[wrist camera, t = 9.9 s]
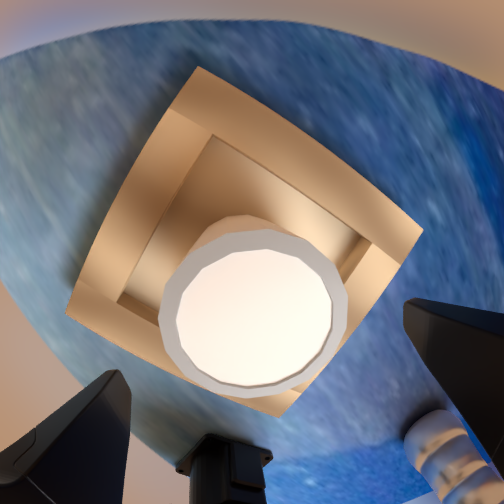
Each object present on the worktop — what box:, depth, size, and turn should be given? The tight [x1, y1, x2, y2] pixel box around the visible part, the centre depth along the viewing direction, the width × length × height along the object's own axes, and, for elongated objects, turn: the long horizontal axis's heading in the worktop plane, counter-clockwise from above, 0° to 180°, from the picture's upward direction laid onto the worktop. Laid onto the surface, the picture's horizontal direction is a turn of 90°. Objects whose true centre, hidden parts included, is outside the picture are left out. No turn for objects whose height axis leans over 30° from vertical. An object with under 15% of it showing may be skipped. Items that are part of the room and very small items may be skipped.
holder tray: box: [65, 66, 423, 418], centre depth 17 cm, size 15×15×2 cm
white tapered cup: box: [158, 214, 348, 398], centre depth 14 cm, size 7×7×7 cm
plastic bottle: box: [404, 410, 504, 504], centre depth 16 cm, size 6×7×20 cm
